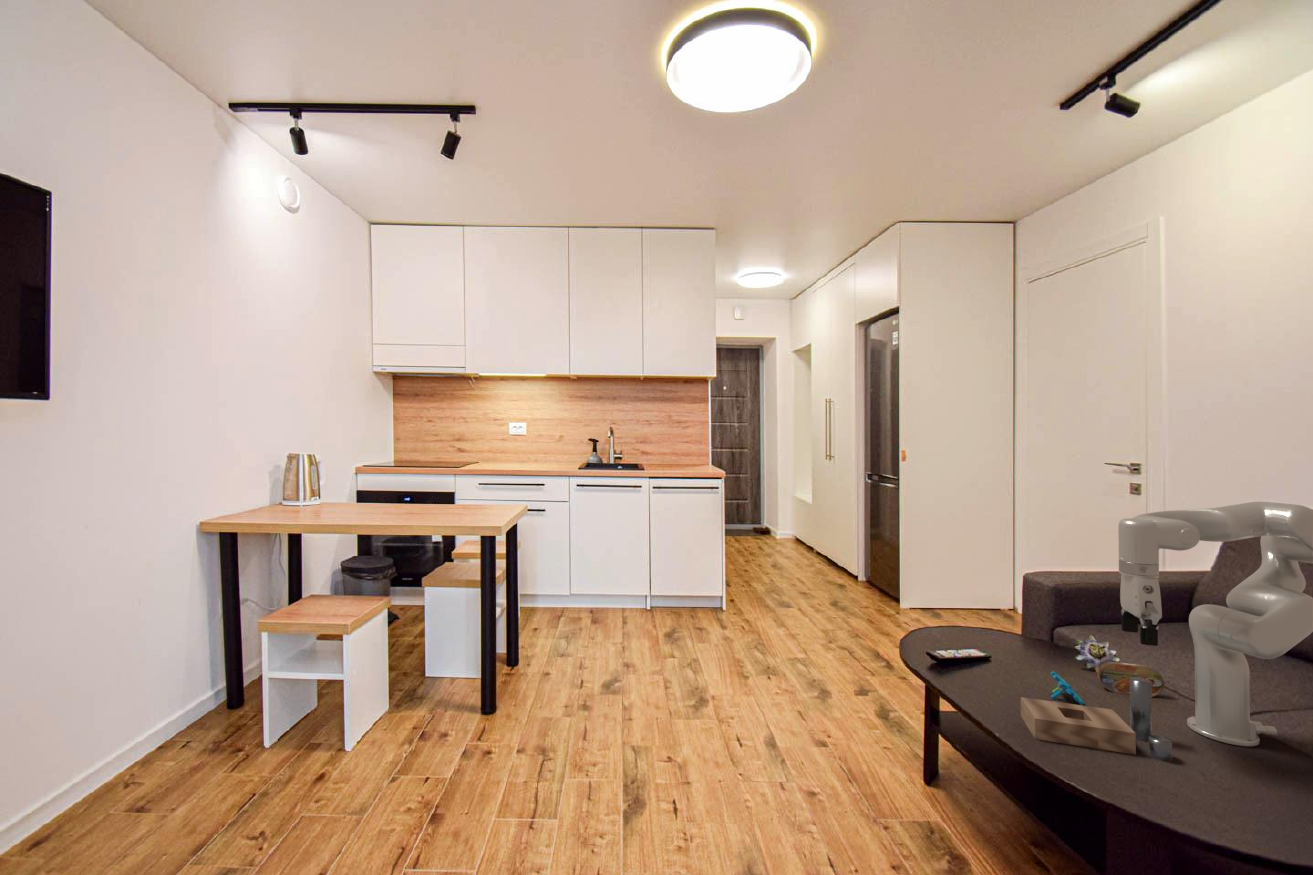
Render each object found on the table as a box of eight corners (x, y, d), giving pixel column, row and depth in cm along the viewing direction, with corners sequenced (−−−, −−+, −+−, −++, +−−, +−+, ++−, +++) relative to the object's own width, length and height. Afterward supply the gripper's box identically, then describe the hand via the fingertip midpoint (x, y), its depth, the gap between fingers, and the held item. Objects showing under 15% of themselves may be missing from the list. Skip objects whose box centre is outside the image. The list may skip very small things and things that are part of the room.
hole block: (1112, 729, 138) (1112, 709, 138) (1135, 754, 127) (1135, 733, 127) (1020, 715, 145) (1020, 697, 145) (1035, 738, 134) (1034, 718, 134)
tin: (1099, 690, 160) (1099, 661, 160) (1095, 686, 163) (1095, 657, 163) (1165, 699, 155) (1164, 669, 155) (1159, 694, 158) (1159, 665, 158)
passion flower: (1098, 689, 173) (1075, 658, 173) (1081, 669, 184) (1059, 640, 184) (1134, 673, 170) (1111, 642, 170) (1115, 654, 180) (1093, 625, 180)
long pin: (1146, 734, 136) (1146, 678, 136) (1155, 742, 132) (1154, 684, 132) (1127, 731, 137) (1126, 675, 137) (1135, 739, 134) (1134, 682, 134)
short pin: (1166, 753, 127) (1166, 736, 128) (1176, 763, 124) (1176, 745, 124) (1145, 750, 129) (1145, 733, 129) (1154, 759, 125) (1154, 742, 125)
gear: (1089, 706, 147) (1056, 673, 152) (1070, 718, 149) (1038, 685, 153) (1083, 696, 156) (1052, 665, 161) (1065, 707, 158) (1035, 676, 163)
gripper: (1176, 578, 126) (1177, 652, 126) (1140, 563, 142) (1140, 628, 142) (1136, 575, 129) (1137, 648, 128) (1105, 560, 145) (1105, 625, 145)
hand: (1139, 637), depth 135 cm, fingers open, 9 cm apart
